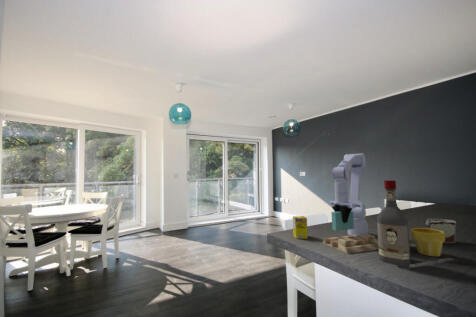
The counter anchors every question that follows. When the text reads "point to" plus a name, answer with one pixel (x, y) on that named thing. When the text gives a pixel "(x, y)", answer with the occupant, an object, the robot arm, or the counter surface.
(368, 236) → the offcut
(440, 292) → the counter surface
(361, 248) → the rack
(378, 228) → the liquor
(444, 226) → the food container
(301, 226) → the supplement box
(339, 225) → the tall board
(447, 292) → the counter surface
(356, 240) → the offcut
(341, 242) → the offcut
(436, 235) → the plant pot
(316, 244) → the counter surface
